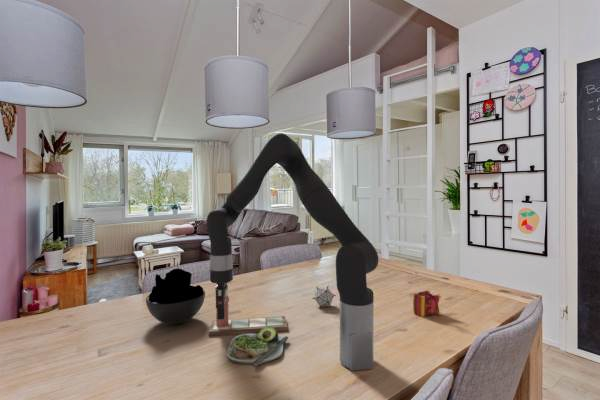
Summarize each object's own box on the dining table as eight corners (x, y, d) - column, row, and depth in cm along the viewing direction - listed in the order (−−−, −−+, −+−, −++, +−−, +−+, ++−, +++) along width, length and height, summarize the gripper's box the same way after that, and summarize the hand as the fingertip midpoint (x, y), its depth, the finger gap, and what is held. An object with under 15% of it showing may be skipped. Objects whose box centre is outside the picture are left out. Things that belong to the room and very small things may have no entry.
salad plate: (285, 371, 87) (285, 354, 87) (218, 371, 88) (218, 354, 88) (289, 338, 107) (289, 324, 107) (234, 338, 107) (234, 324, 107)
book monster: (429, 308, 131) (450, 322, 119) (409, 311, 129) (428, 325, 117) (430, 282, 130) (451, 293, 118) (409, 284, 128) (428, 296, 116)
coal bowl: (203, 308, 132) (202, 262, 132) (208, 328, 114) (207, 274, 113) (148, 316, 125) (147, 267, 124) (144, 338, 107) (142, 281, 106)
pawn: (228, 327, 111) (228, 295, 110) (215, 327, 110) (215, 296, 110) (229, 321, 115) (229, 291, 115) (216, 322, 115) (216, 291, 114)
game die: (327, 316, 133) (333, 302, 127) (308, 308, 134) (313, 293, 128) (333, 300, 140) (339, 285, 134) (315, 292, 141) (320, 277, 135)
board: (287, 330, 111) (287, 325, 111) (208, 336, 108) (208, 331, 108) (285, 320, 120) (285, 315, 120) (212, 324, 117) (212, 320, 117)
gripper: (231, 271, 106) (232, 321, 106) (233, 262, 120) (234, 306, 120) (207, 273, 105) (208, 323, 105) (212, 262, 119) (213, 307, 119)
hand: (222, 314), depth 113 cm, fingers open, 8 cm apart
